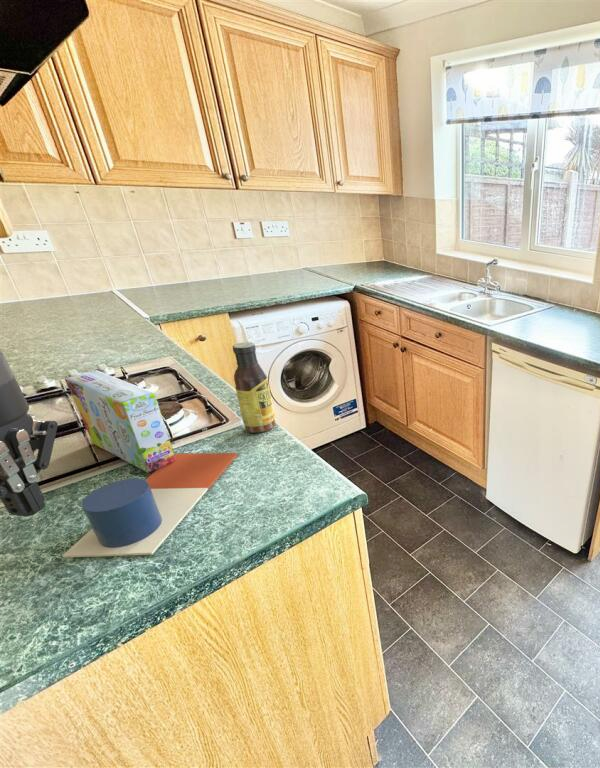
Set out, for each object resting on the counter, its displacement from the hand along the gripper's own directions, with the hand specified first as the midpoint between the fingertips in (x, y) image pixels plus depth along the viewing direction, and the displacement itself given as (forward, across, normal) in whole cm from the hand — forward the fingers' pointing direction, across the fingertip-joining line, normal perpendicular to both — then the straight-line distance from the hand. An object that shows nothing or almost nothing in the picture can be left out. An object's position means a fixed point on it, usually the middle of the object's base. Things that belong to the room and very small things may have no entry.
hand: (30, 511), depth 51 cm
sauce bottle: (+14, -43, +6) cm, 46 cm away
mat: (+14, -19, 0) cm, 24 cm away
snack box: (+14, -33, -14) cm, 38 cm away
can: (+14, -11, 0) cm, 17 cm away
